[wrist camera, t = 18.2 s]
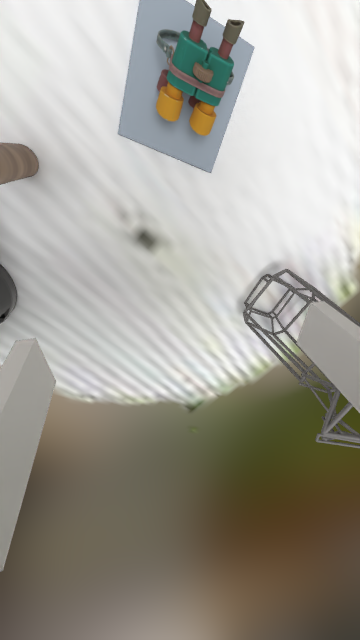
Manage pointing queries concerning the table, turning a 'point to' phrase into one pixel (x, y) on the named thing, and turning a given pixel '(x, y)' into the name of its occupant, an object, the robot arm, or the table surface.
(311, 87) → the table surface
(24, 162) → the post gap
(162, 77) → the binoculars
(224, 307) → the table surface
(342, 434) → the geometric lantern
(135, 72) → the grey mat
